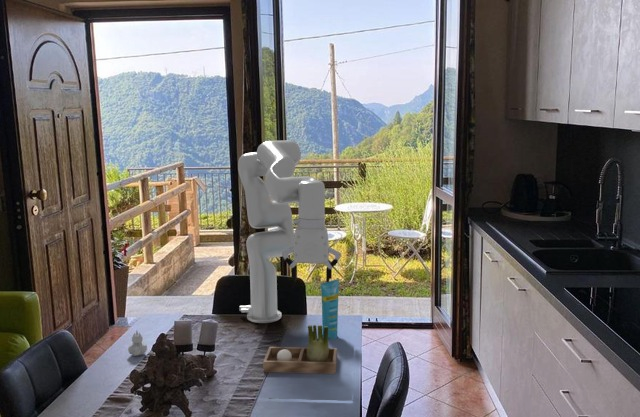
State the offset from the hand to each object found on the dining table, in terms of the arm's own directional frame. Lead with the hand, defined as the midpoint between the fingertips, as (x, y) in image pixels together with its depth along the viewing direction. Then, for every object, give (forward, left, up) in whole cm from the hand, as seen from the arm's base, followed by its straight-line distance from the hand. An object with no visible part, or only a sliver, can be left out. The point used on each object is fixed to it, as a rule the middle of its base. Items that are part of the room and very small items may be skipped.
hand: (311, 280), depth 162 cm
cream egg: (-8, -5, -24) cm, 26 cm away
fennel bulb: (+2, -5, -24) cm, 25 cm away
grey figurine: (-54, 0, -25) cm, 59 cm away
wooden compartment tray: (-3, -5, -24) cm, 25 cm away
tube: (+4, +18, -25) cm, 31 cm away
